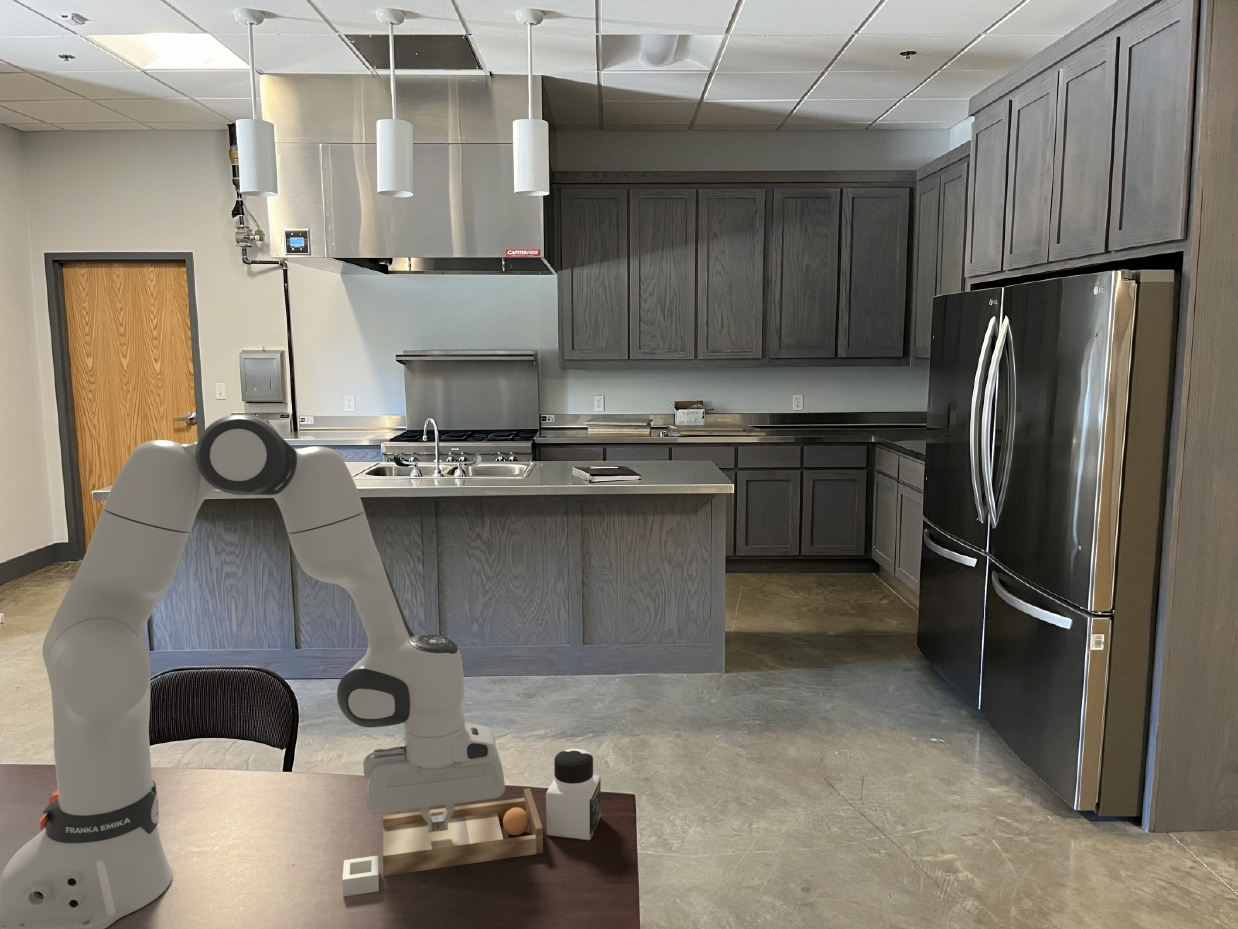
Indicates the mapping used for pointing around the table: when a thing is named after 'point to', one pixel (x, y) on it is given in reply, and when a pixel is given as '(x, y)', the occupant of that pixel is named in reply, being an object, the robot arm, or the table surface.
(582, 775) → the medicine bottle
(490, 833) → the lane
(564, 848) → the table surface
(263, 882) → the table surface
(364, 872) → the square ring
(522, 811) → the ball
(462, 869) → the table surface
